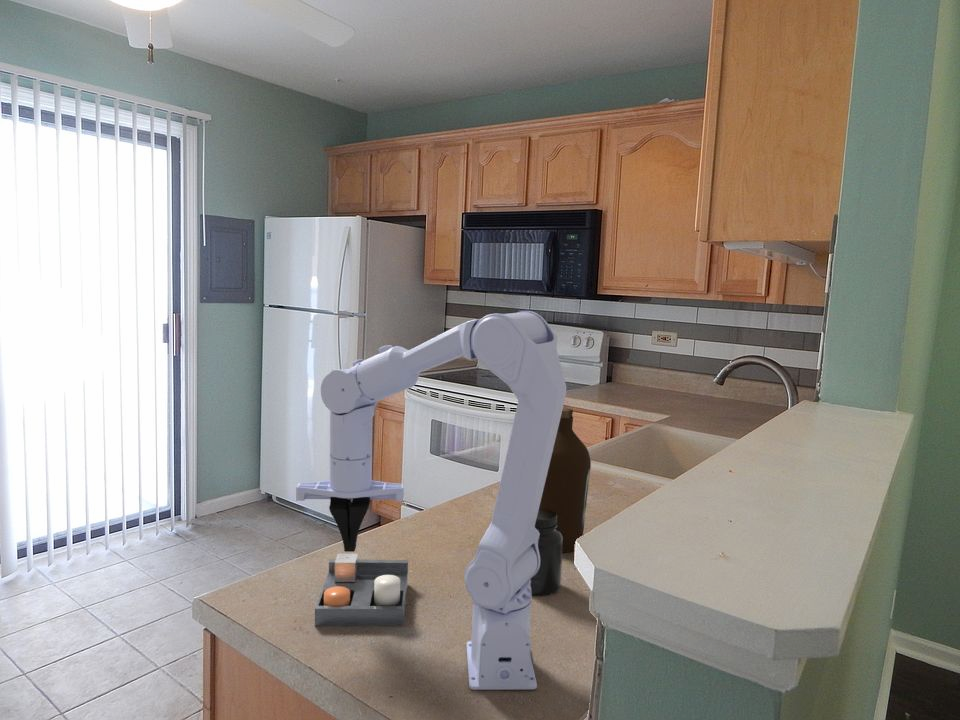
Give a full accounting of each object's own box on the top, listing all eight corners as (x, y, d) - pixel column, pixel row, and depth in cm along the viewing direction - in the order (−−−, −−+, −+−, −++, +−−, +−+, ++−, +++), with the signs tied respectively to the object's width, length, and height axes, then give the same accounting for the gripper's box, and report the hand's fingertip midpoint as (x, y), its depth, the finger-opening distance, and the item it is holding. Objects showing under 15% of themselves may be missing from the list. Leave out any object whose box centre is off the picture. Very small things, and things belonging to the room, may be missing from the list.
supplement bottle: (533, 572, 106) (536, 502, 105) (568, 586, 102) (572, 513, 101) (507, 587, 101) (511, 513, 100) (544, 602, 97) (548, 525, 95)
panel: (403, 626, 89) (403, 598, 88) (314, 625, 88) (314, 598, 88) (407, 584, 101) (408, 559, 100) (329, 583, 100) (329, 559, 99)
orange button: (347, 619, 90) (348, 599, 89) (321, 619, 89) (321, 598, 89) (351, 606, 93) (351, 586, 93) (326, 605, 93) (326, 586, 92)
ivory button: (399, 607, 90) (399, 586, 89) (372, 607, 90) (373, 586, 89) (400, 594, 93) (401, 574, 93) (375, 594, 93) (375, 574, 93)
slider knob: (355, 581, 95) (355, 562, 95) (334, 581, 95) (334, 562, 95) (357, 572, 98) (357, 553, 98) (337, 572, 98) (337, 553, 98)
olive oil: (534, 555, 113) (542, 415, 110) (522, 531, 123) (528, 402, 120) (593, 553, 114) (602, 415, 111) (576, 530, 125) (583, 403, 121)
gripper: (405, 447, 93) (403, 537, 95) (303, 446, 92) (303, 536, 94) (403, 461, 86) (401, 558, 88) (292, 460, 85) (293, 558, 87)
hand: (350, 548), depth 91 cm, fingers closed
